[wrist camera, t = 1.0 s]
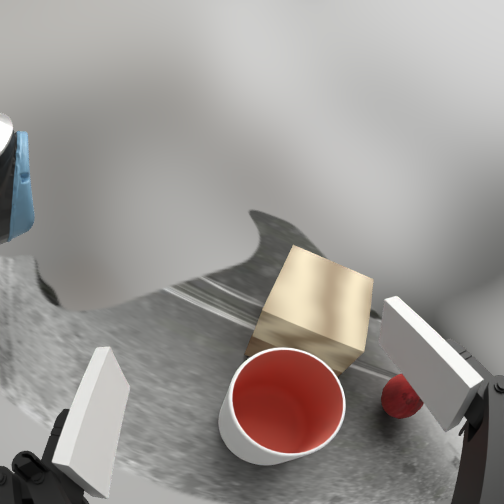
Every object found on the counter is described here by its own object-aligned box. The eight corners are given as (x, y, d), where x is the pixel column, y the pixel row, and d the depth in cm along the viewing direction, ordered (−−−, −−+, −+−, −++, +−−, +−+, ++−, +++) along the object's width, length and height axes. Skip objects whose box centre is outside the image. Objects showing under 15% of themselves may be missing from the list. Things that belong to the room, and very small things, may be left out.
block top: (252, 335, 31) (262, 310, 27) (282, 272, 39) (293, 245, 35) (342, 372, 29) (364, 351, 26) (356, 303, 37) (373, 279, 34)
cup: (319, 446, 26) (364, 426, 20) (235, 477, 23) (255, 475, 16) (285, 375, 33) (315, 335, 26) (205, 397, 29) (212, 361, 22)
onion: (407, 421, 29) (447, 399, 24) (373, 428, 28) (412, 407, 23) (399, 385, 33) (435, 358, 28) (366, 388, 33) (401, 360, 27)
